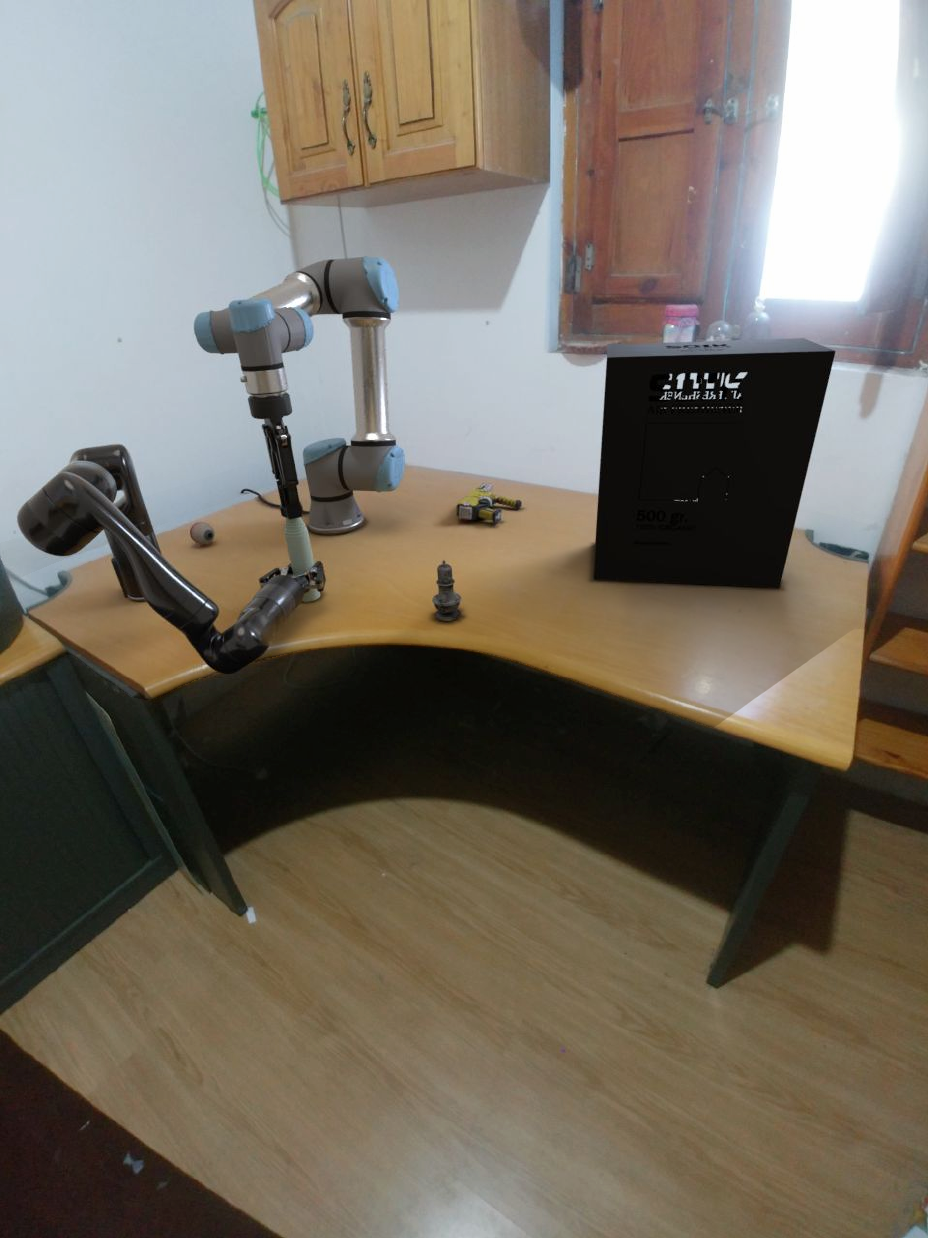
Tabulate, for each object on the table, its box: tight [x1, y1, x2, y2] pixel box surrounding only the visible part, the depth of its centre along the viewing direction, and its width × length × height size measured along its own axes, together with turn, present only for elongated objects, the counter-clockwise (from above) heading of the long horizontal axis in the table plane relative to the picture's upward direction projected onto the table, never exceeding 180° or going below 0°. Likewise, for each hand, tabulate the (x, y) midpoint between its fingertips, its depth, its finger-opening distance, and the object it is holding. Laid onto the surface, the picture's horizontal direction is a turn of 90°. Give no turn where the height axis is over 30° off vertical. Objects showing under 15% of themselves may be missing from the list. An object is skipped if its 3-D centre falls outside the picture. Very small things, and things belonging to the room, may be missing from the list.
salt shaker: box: [431, 560, 462, 622], centre depth 119 cm, size 6×6×12 cm
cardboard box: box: [592, 337, 836, 589], centre depth 125 cm, size 38×20×45 cm, turn 78°
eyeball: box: [189, 521, 215, 546], centre depth 160 cm, size 6×6×6 cm
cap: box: [279, 501, 304, 518], centre depth 122 cm, size 4×4×2 cm
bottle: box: [284, 517, 321, 603], centre depth 127 cm, size 5×5×20 cm
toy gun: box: [455, 482, 523, 525], centre depth 172 cm, size 5×24×15 cm
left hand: (308, 564), depth 131 cm, fingers closed on bottle, 4 cm apart
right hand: (292, 513), depth 123 cm, fingers closed on cap, 4 cm apart
